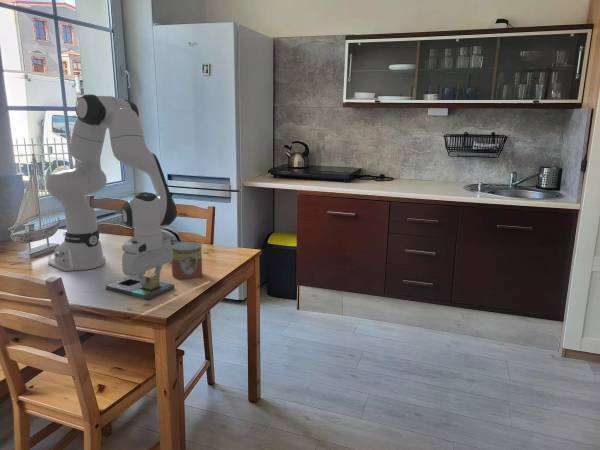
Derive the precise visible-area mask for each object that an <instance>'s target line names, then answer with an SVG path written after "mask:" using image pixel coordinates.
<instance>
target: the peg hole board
mask: <svg viewBox="0 0 600 450" xmlns="http://www.w3.org/2000/svg"><path fill="white" fill-rule="evenodd" d="M159 283H160V288H159V289H156V290H154V291H152V292H150V291H146V290H142V284H141V279H140V278H139V276H138V275H134V276H127V277H124V278H122V279H119V280H116V281H114V282H111V283H109V284H106V285H105V290H106V291H110V292H114V293H116V294H117V293H118V294H122V295H125V296H130V297H133V298H138V299H141V300H146V301H148V302H149V301H152V300H154V299H157V298H159V297H160V296H163V295H164V294H167V293H169V292H171V291H173V290H175V284H172V283H167V282H162V281H159Z"/></svg>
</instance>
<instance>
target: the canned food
mask: <svg viewBox="0 0 600 450" xmlns="http://www.w3.org/2000/svg"><path fill="white" fill-rule="evenodd" d="M172 249H173V260H172V262H171V271H172V275H171V276H172V277H173V278H174V279H176V280H184V281H185V280H186V281H187V280H193V279H198V278H202V277H203V263H202V262H203V261H202V260H203V258H202V256H203V255H202V244H201V243H199V242H196V241H184V242H180V243H176V244H173V245H172Z"/></svg>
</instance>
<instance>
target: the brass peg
mask: <svg viewBox="0 0 600 450" xmlns="http://www.w3.org/2000/svg"><path fill="white" fill-rule="evenodd" d="M144 276H145V278H148V280H147V281H148V282H147V283H145V284H142V290H146V291H150V292H152V291H154V290H156V289H159V288H160V283H159V282H160V278H159V274H156V273H155V272H151V271H150V272H148V273H145V274H144Z"/></svg>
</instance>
